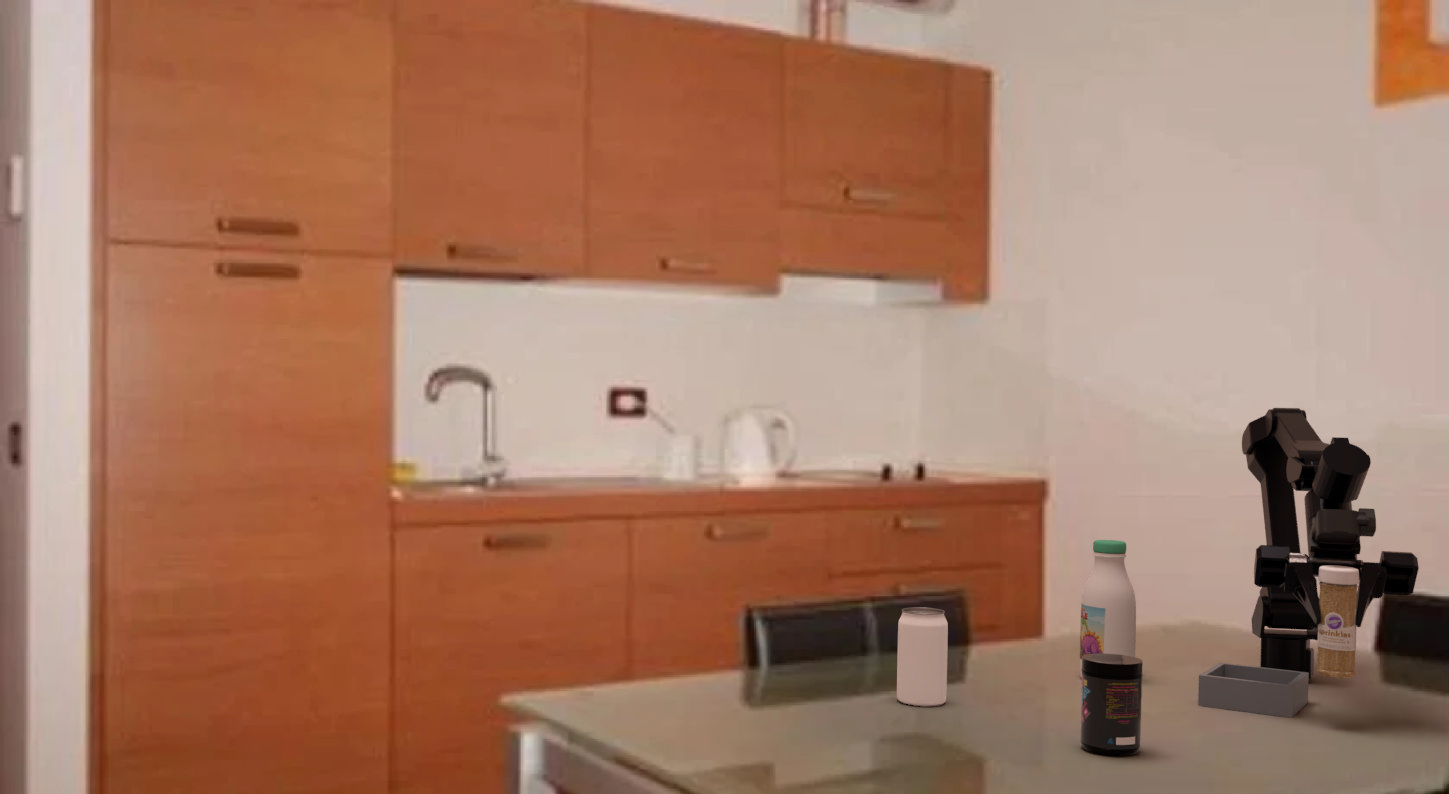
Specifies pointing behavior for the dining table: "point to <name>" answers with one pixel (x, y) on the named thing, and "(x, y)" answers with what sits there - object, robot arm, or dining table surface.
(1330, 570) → the sprinkles bottle
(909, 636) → the can
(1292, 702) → the bin
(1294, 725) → the dining table surface
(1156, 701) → the dining table surface
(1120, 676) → the supplement container
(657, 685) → the dining table surface
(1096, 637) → the milk bottle
